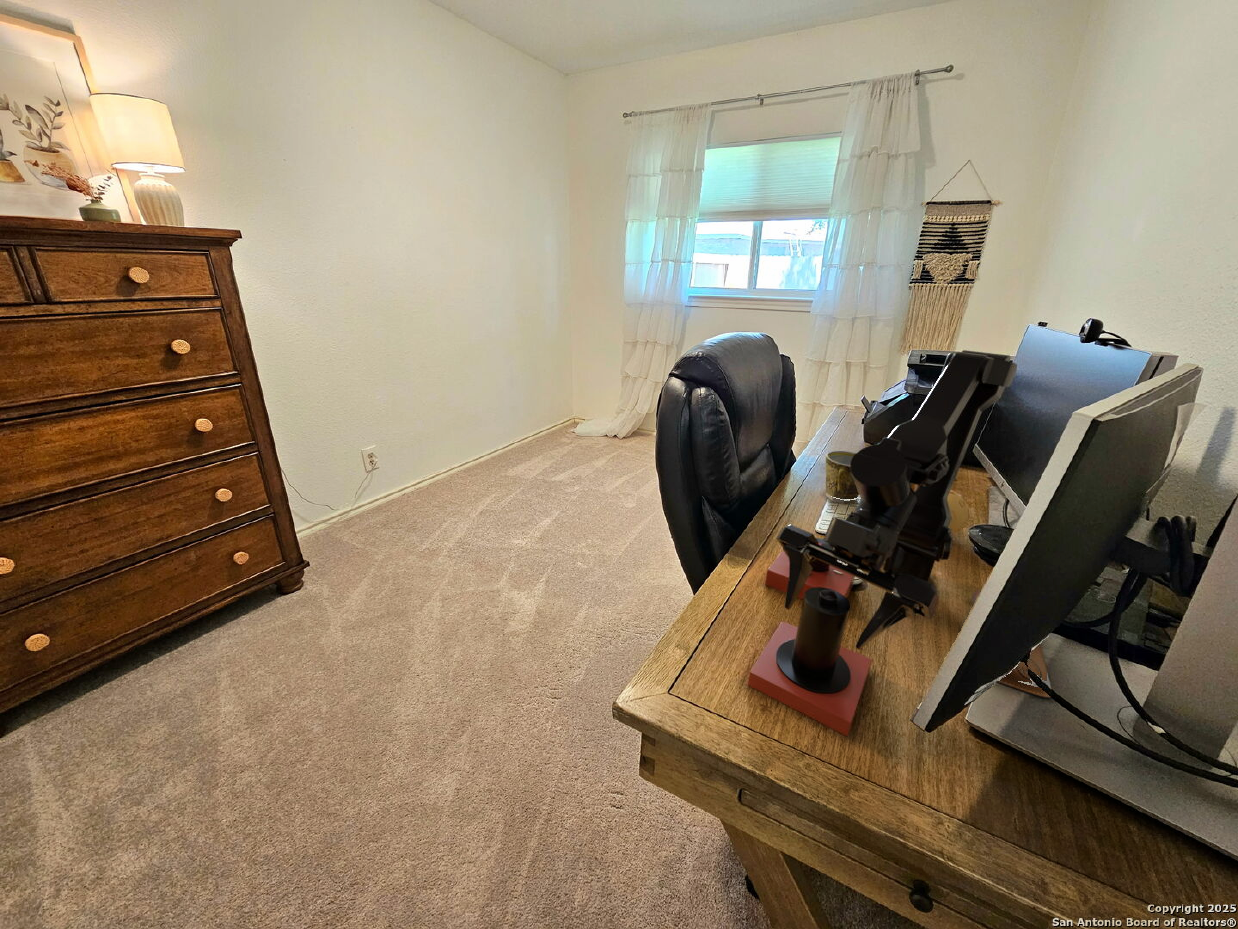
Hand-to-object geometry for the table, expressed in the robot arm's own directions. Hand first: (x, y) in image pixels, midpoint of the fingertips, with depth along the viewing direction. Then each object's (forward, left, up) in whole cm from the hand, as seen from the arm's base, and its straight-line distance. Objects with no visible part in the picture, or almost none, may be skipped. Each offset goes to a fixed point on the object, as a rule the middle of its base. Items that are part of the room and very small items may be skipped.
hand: (820, 627), depth 59 cm
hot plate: (0, 0, -8) cm, 8 cm away
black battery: (0, 0, -6) cm, 6 cm away
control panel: (+6, -21, -8) cm, 23 cm away
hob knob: (+6, -23, -5) cm, 24 cm away
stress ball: (-9, -55, -9) cm, 56 cm away
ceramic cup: (+10, -59, -9) cm, 60 cm away
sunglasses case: (-21, -24, -9) cm, 33 cm away
